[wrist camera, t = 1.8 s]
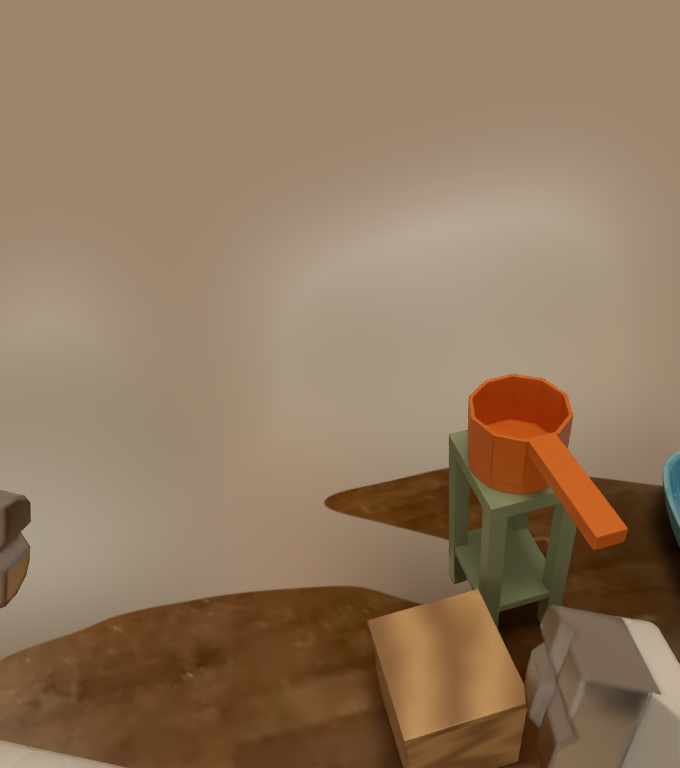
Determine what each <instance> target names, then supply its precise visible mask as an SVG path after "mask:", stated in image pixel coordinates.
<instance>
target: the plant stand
mask: <svg viewBox="0 0 680 768" xmlns="http://www.w3.org/2000/svg"><path fill="white" fill-rule="evenodd" d="M468 449H469V448H468V430H465V431H461V432H457V433H454V434H450V435H449V574H450V577H451V579H452V581H453V583H454V584H456V583H460V582H463V581H466V580H467V579H468V581H469V583H470V586H471V588H472V590H476V589H478V590H479V592H480V594H481V596H482V598H483V600H484V602H485V604H486V606H487V608H488V611H489V613H490V615H491V617H492V619H493V621H494V623H495V625H496V627H497V629H498V620H499V612H501V611H504V610H508V609H511V608H515V607H518V606H522V605H525V604H528V603H532V602H535V601H539V605H538V612H537V618H538V620H539V622H540V624H541V621H542V618H543V616H544V613H545V611H546V610H547V608H548V607H549V605H556V606H561V604H562V599H563V594H564V589H565V584H566V579H567V574H568V569H569V564H570V559H571V554H572V549H573V544H574V539H575V534H576V529H577V526H576V524H575V523H574V521H573V520H572V518H571V517H570V515H569V514H568V512H567V511H566V509H565V508H564V507H563V505H562V504H561V502H560V501H559V499H558V498H557V496H556V495H555V493H554V492H553V490H552V489H551V488H550V486H548V487H547V488H545V489H543V490H540V491H537V492H533V493H527V494H514V493H507V492H503V491H499V490H496V489H494V488H492V487H490V486H488V485H486V484H485V483H483V482H482V481H481V480H480V479H479V478H478V477H477V476H476V475H475V474H474V472H473V471H472V469H471V467H470V464H469V460H468ZM470 485H471V487H472V489H473V491H474V493H475V494H476V496H477V498H478V500H479V502H480V504H481V505H482V507H483V518H482V528H481V529H477V530H474V531H470V532H468V520H469V488H470ZM554 504H555V505H554ZM550 505H554V512H553V518H552V524H551V530H550V537H549V543H548V549H547V555H546V559H545V558H544V556H543V554H542V553H541V551H540V549H539V548H538V546H537V544H536V543H535V541H534V539H533V538H532V536H531V534H530V533H529V531H528V529H527V526H528V518H529V511H532V510H536V509H539V508H543V507H547V506H550Z"/></svg>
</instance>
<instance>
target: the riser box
mask: <svg viewBox="0 0 680 768" xmlns="http://www.w3.org/2000/svg"><path fill="white" fill-rule="evenodd" d="M367 623H368V628H369V631H370V634H371V638H372V641H373V646H374V653H375V660H376V667H377V674H378V681H379V687H380V691H381V694H382V697H383V701H384V704H385V708H386V711H387V714H388V718H389V721H390V725H391V728H392V731H393V735H394V738H395V741H396V745H397V748H398V752H399V755H400V758H401V762H402V765H403V768H499V767H502V766H505V765H508V764H511V763H514V762H518V758H519V752H520V746H521V740H522V734H523V728H524V722H525V717H526V711H527V707H526V702H525V686H524V684H523V681H522V679H521V677H520V675H519V673H518V671H517V669H516V667H515V665H514V663H513V661H512V659H511V656H510V654H509V652H508V650H507V648H506V646H505V644H504V642H503V640H502V638H501V636H500V633H499V631H498V629H497V627H496V625H495V623H494V621H493V619H492V617H491V615H490V613H489V611H488V608H487V606H486V604H485V602H484V600H483V598H482V596H481V594H480V592H479V590H478V589H476V590H472V591H469V592H465V593H462V594H458V595H455V596H451V597H448V598H445V599H441V600H437V601H434V602H430V603H427V604H423V605H420V606H416V607H413V608H409V609H406V610H402V611H399V612H395V613H392V614H388V615H385V616H381V617H378V618H374V619H371V620H368V621H367Z"/></svg>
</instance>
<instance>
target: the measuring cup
mask: <svg viewBox="0 0 680 768" xmlns="http://www.w3.org/2000/svg"><path fill="white" fill-rule="evenodd" d="M572 419H573V412H572V410H571V406H570V403H569V399H568V397H567V394H566V393H565V392H563V391H561V390H560V389H558V388H557V387H555V386H554V385H552V384H551V383H549V382H548V381H546V380H545V379H541V378H535V377H529V376H522V375H516V374H513V375H512V374H511V375H507V376H502V377H498V378H494V379H490V380H486V381H484V382H483V383H482V384H481V385H480V386H479V387H478V388H477V389H476V390H475V392H473V394H471V395H470V396H469V408H468V448H469V449H468V460H469V464H470V467H471V469H472V471H473V472H474V474H475V475H476V476H477V477H478V478H479V479H480V480H481V481H482V482H483V483H485V484H486V485H488V486H490V487H492V488H494V489H496V490H499V491H503V492H507V493H514V494H527V493H533V492H537V491H540V490H543V489H545V488H547V487H548V486H550V488H551V489H552V490H553V492H554V493H555V495H556V496H557V498H558V499H559V501H560V502H561V504H562V505H563V507H564V508H565V509H566V511H567V512H568V514H569V515H570V517H571V518H572V520H573V521H574V523H575V524H576V526H577V527H578V529H579V530H580V531H581V533H582V534H583V536H584V537H585V539H586V540H587V542H588V543H589V545H590V546H591V548H592V549H593V550H597V549H600V548H604V547H607V546H611V545H615V544H618V543H622V542H624V541H625V537H626V534H627V530H628V528H627V527H626V525H625V524H624V523H623V521H622V520H621V519H620V517H619V516H618V515H617V513H616V512H615V511H614V509H613V508H612V507H611V506H610V504H609V503H608V502H607V500H606V499H605V498H604V496H603V495H602V494H601V492H600V491H599V490H598V488H597V487H596V486H595V484H594V483H593V482H592V481H591V479H590V478H589V477H588V475H587V474H586V473H585V471H584V470H583V469H582V468H581V466H580V465H579V464H578V462H577V461H576V460H575V458H574V457H573V456H572V454H571V453H570V452H569V450H568V443H569V437H570V431H571V425H572Z"/></svg>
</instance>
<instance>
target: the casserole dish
mask: <svg viewBox="0 0 680 768" xmlns="http://www.w3.org/2000/svg"><path fill="white" fill-rule="evenodd" d="M663 486H664V492H665V500H666V506H667V511H668V515H669V519H670V523H671V526H672V529H673V532H674V535H675V537H676V540H677V542H678V545H679V547H680V451H678V452H676V453H674V454H673V455H672V456H670V457H669V458H668V459H667V461H666V463H665V465H664V468H663Z"/></svg>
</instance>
